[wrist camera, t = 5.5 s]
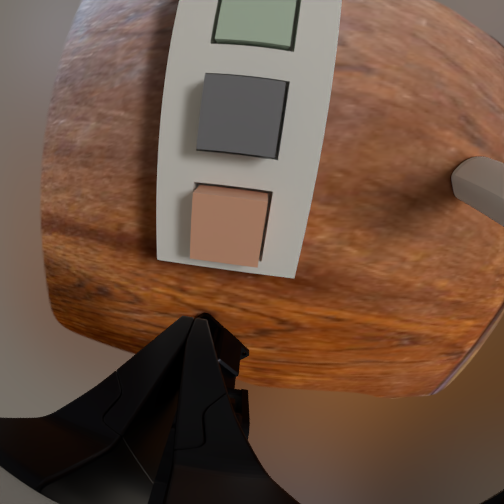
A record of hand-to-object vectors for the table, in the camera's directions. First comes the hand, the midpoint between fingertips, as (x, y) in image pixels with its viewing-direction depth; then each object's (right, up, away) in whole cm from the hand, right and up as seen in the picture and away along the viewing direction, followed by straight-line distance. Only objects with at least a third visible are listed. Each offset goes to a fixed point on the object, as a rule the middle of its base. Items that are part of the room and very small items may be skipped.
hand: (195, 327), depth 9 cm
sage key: (+2, +18, +4) cm, 18 cm away
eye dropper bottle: (+21, +9, +9) cm, 25 cm away
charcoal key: (+1, +11, +7) cm, 13 cm away
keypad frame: (+1, +12, +8) cm, 14 cm away
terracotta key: (0, +5, +10) cm, 11 cm away
